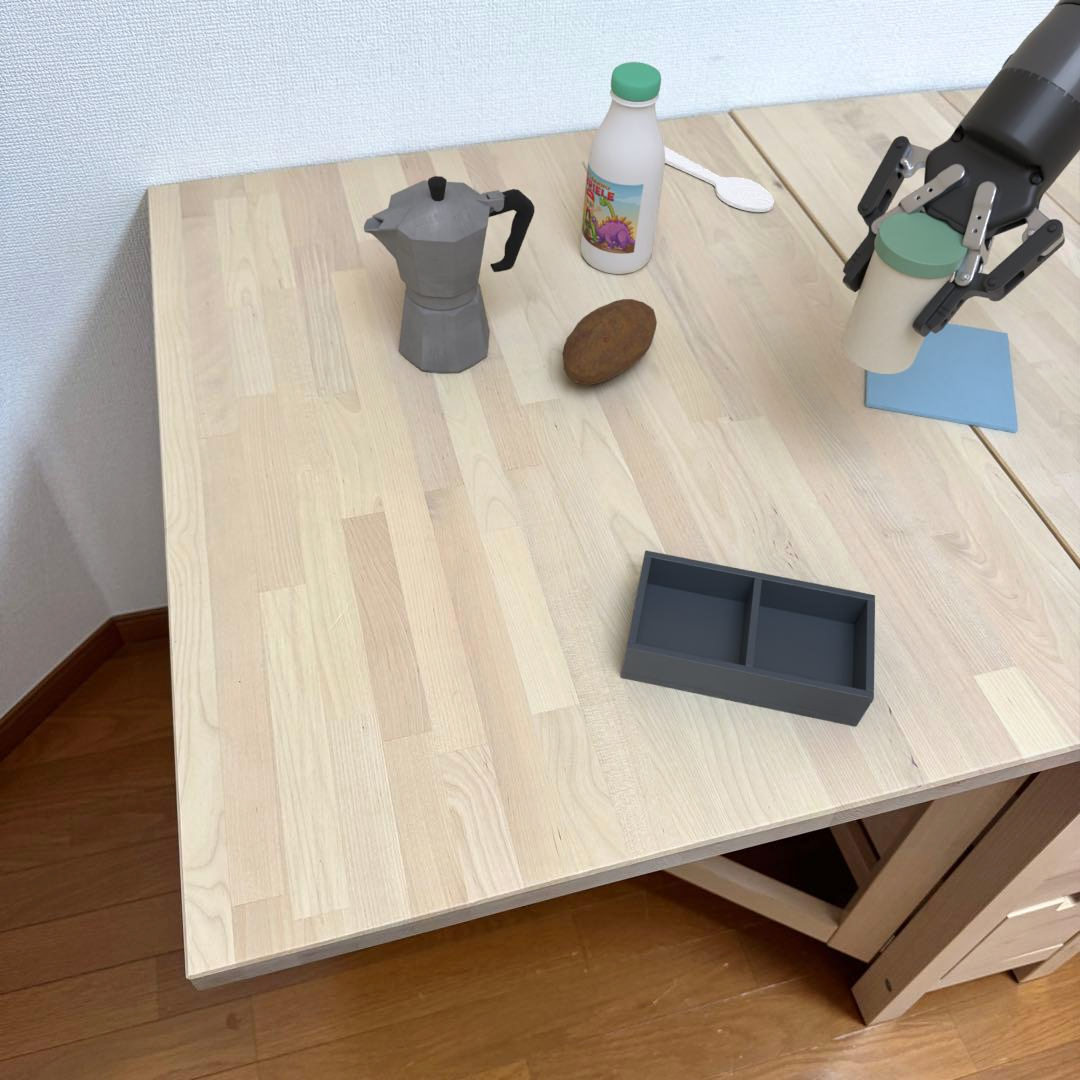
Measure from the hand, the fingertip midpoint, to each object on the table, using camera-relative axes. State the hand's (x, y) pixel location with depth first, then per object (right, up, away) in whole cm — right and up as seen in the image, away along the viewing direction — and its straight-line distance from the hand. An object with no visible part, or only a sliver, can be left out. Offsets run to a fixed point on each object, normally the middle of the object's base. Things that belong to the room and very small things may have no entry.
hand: (883, 308), depth 72 cm
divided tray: (-9, -25, +6) cm, 27 cm away
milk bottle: (-16, +14, +36) cm, 42 cm away
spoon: (-5, +26, +46) cm, 53 cm away
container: (+1, -2, +4) cm, 5 cm away
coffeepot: (-33, +3, +27) cm, 43 cm away
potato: (-18, 0, +25) cm, 31 cm away
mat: (+15, 0, +27) cm, 31 cm away
